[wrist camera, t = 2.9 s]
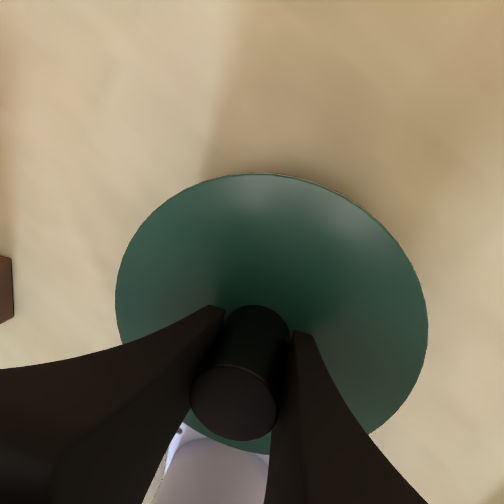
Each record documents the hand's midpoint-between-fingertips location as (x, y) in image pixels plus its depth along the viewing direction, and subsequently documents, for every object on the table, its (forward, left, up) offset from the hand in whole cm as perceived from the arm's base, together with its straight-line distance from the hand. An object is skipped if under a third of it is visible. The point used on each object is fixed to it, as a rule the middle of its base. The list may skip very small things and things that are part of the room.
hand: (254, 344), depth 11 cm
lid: (0, 0, -1) cm, 1 cm away
